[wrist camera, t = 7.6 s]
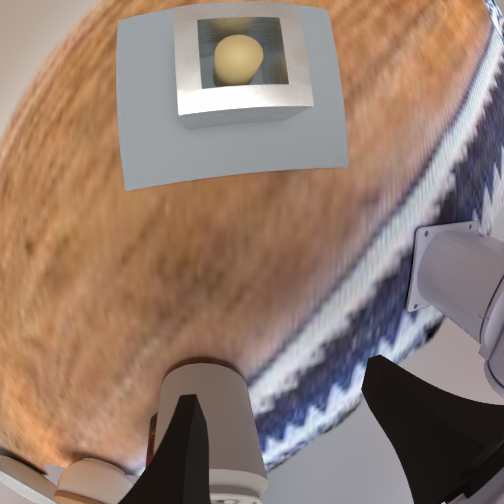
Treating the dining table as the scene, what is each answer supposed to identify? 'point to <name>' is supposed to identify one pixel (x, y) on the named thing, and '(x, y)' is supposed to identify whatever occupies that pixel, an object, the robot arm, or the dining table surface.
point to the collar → (273, 64)
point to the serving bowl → (26, 481)
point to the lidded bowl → (92, 483)
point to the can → (220, 429)
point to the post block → (225, 136)
